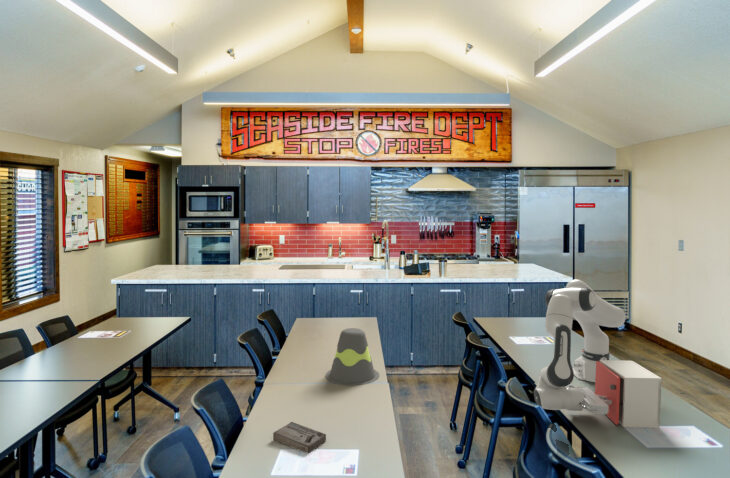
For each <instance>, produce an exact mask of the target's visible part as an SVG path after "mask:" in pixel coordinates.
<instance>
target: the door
mask: <svg viewBox="0 0 730 478" xmlns="http://www.w3.org/2000/svg"><path fill="white" fill-rule="evenodd" d="M594 383H595V384H594V385H595V386H594V393H595V394H596V395H600V396H607V397H608V398H609V399H610V400H612V405H608V406H609V412H608V414H605V415H606V416H607V418H609V419H610V420H611V421H612V422H613V424H615V425H617V426H619V423H618V422H619V395H620V378H619V377H618V376H617V375H616V374H614V373H613V372H612V371H610V370H609V369H608V368H607V367H605V366H604V365H603V364H601V363H600V362H599V361H596V379H595V382H594Z"/></svg>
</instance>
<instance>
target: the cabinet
mask: <svg viewBox="0 0 730 478" xmlns="http://www.w3.org/2000/svg"><path fill="white" fill-rule="evenodd" d="M600 363H601V364H603V365H604V366H605V367H607V368H608V369H609V370H610V371H612V372H613V373H614V374H616V375H617V376H618V377H619V378H620V395H619V422H618V424H620V426H622V427H623V428H645V429H646V428H652V429H654V428H655V429H659V428H660V424H661V404H662V402H661V401H662V377H660V376H659V375H657V374H655V373H654V372H652V371H650V370H648V369H647V368H646V367H643V366H641V365H640V364H638V363H637V362H635V361H633V360H616V359H615V360H613V359H611V360H610V359H609V360H600Z"/></svg>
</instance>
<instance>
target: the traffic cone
mask: <svg viewBox="0 0 730 478" xmlns="http://www.w3.org/2000/svg"><path fill="white" fill-rule="evenodd" d="M336 347H337V348H336V351H335V355H334V359H333V361H332V364H331V367H330V368H331V369H330V370H328V371H327V372H326V373H325V378H326V379H327V381H329V382H330V383H333V384H336V385H341V386H362V385H368V384H371V383H373V382H375V381H377V380H378V379H379V378H380V373H379V371H377V370H375V368H374V364H373V360H372V357H371V354H370V350H369V343H368V340H367V336H366V333H365V331H364V330H363V329H361V328H357V327H356V328H355V327H352V328H344V329H343V330H342V331H341V332H340V334H339V338H338V342H337V345H336Z"/></svg>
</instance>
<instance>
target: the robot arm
mask: <svg viewBox="0 0 730 478" xmlns="http://www.w3.org/2000/svg"><path fill="white" fill-rule="evenodd" d="M544 302H545V303H544V304H545V305H546V307H547V310H546V313H545V322H544V323H545V331H546V333H547V334H548V335H549V336H550V337H552V338H553V341H554V342H553V343H554V344H553V357H552V360H551V362H550V363H549V364H548V365H546V366H544V367H543V368H542V369H541V370H540V371H539V375H538V376H539V377H538V382H537V385H536V386H535V388H534V389H533V397H534V401H535V403H536V405H537V404H538V405H539V406H541V407H542V408H541V407H540V408H541V409H543V410H552V411H560V410H566V411H572V412H573V411H575V412H576V411H578V412H579V411H580V412H582V411H583V410H585V411H586V412H588V413H591V414H598V415H606V414H608V412H609V406H608V405H612V400H610V399H609V398H608V397H607V396H600V395H596V394H595V391H593V390H592V389H591V388H590V387H587V386H582V385H581V386H580V385H574V384H572V382H573V380H574V378H575V377H576V378H577V380H581V381H587V382H589V383H590V382H591V383H595V379H596V361H599V362H600V360H610V351H609V349H610V348H609V346H610V339H609V336H608V335H607V334H606V333H605V332H604V331H602V329H601V328H600V326H601V327H607V328H620V327H622V326H623V325H624V324H625V322H626V313H625V310H624V309H623V308H621V307H618V306H616V305H614V304H612V303H610V302H608V301H607V300H605V299H603V298H602V297H600V296H599V295H597V293H596V292H595V291H594V289H592V288H591V286H590V285H588V284H587V283H586V282H585V281H583V280H581V279H577V278H575V279H572V280H570V281H569V282H567V284H566V285H565V288H553V289H550V290H548V291H547V292H546V293H545V296H544ZM574 319H575V320H576V321H577V322H578V324H579V325H580V327H581V329H582V331H583V336H584V349H581V352H582V354H581V356H579V357H577V358H576V359H574V362H573V366H572V361H571V351H572V350H571V347H572V330H573V321H574ZM538 405H537V406H538ZM539 406H538V407H539Z"/></svg>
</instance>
